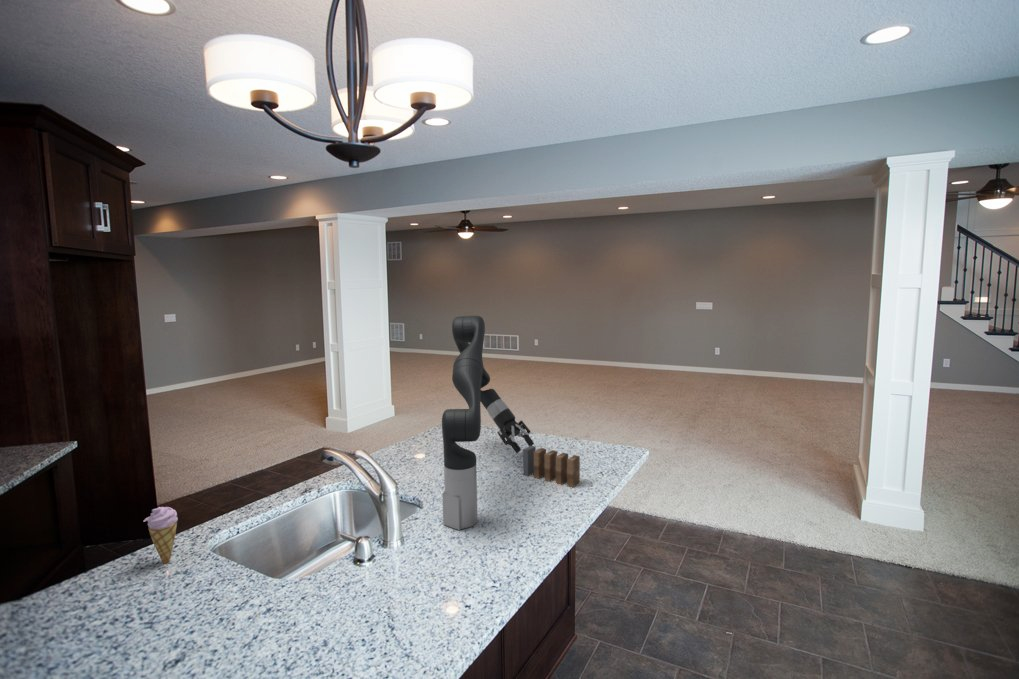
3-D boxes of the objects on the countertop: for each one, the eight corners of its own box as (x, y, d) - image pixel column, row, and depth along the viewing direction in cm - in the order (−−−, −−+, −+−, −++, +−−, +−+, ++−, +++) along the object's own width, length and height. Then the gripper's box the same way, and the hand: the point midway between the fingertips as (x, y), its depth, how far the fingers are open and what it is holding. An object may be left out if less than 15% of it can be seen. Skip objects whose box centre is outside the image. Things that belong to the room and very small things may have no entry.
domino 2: (538, 479, 179) (538, 452, 178) (533, 477, 181) (533, 451, 179) (546, 474, 183) (546, 448, 182) (541, 473, 185) (541, 447, 183)
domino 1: (527, 476, 182) (527, 450, 181) (523, 475, 183) (523, 449, 182) (535, 471, 186) (535, 446, 185) (530, 470, 187) (530, 445, 186)
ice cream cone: (144, 570, 125) (138, 512, 123) (154, 557, 131) (149, 501, 129) (175, 566, 126) (170, 508, 125) (184, 553, 132) (179, 498, 131)
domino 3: (549, 481, 177) (549, 455, 176) (544, 480, 178) (544, 454, 177) (557, 477, 181) (557, 451, 180) (552, 476, 182) (552, 450, 181)
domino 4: (560, 484, 174) (560, 457, 173) (555, 483, 175) (555, 456, 174) (568, 480, 178) (568, 453, 177) (563, 478, 179) (563, 452, 178)
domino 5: (572, 487, 171) (572, 460, 170) (567, 486, 173) (567, 459, 172) (579, 483, 175) (579, 456, 174) (574, 481, 177) (574, 455, 176)
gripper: (494, 412, 188) (520, 448, 183) (517, 404, 199) (542, 437, 194) (483, 423, 192) (508, 459, 186) (506, 415, 203) (530, 448, 198)
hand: (525, 448), depth 190 cm, fingers open, 8 cm apart
